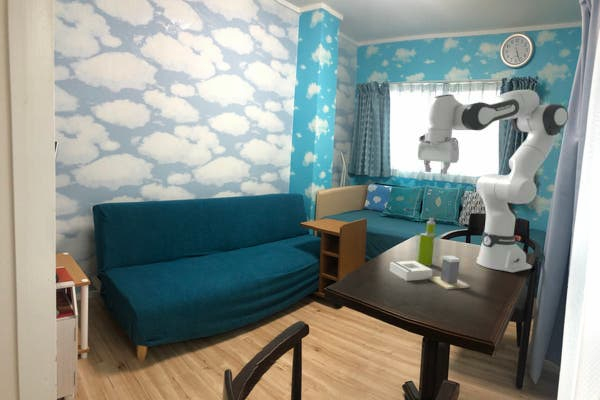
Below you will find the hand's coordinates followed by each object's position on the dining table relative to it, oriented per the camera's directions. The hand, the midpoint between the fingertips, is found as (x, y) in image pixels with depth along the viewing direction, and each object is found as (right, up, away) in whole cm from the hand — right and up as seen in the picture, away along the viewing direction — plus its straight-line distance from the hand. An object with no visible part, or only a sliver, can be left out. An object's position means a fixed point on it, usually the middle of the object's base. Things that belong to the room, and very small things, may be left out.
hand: (435, 173), depth 149 cm
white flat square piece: (-11, -39, -2) cm, 41 cm away
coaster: (+1, -41, -10) cm, 42 cm away
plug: (+1, -40, -10) cm, 42 cm away
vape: (0, -38, +13) cm, 40 cm away
